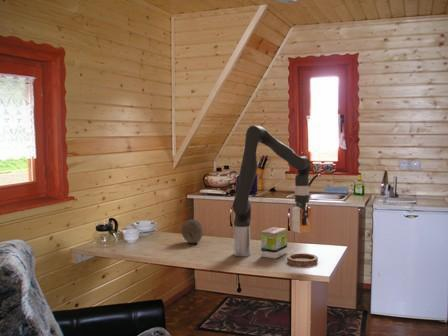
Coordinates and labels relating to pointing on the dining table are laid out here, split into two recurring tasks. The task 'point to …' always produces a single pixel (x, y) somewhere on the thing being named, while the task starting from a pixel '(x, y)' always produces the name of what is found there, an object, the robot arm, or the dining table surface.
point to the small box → (298, 220)
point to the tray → (302, 259)
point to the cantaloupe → (192, 231)
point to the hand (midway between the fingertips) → (302, 223)
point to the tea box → (273, 242)
